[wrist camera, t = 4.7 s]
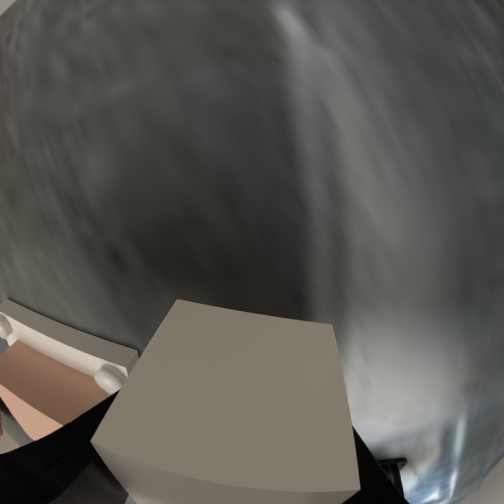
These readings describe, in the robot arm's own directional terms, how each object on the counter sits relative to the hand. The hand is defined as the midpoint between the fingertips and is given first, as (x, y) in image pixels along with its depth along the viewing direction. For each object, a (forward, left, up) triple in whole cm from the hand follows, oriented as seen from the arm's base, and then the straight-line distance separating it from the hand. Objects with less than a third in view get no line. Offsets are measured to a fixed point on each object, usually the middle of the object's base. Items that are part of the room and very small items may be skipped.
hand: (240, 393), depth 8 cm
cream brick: (0, 0, -1) cm, 1 cm away
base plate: (+12, +10, -5) cm, 16 cm away
